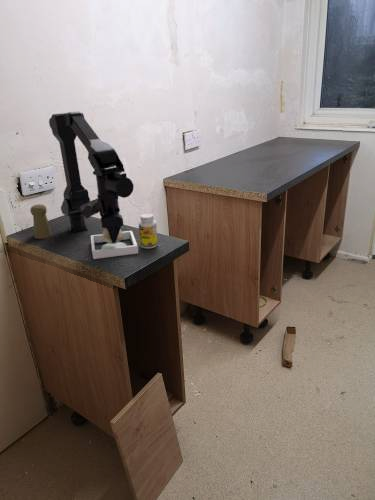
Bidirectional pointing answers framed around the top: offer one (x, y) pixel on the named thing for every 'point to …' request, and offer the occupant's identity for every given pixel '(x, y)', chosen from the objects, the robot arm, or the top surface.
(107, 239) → the wooden ball
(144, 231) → the supplement bottle
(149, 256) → the top surface
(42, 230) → the cork
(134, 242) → the white square frame
